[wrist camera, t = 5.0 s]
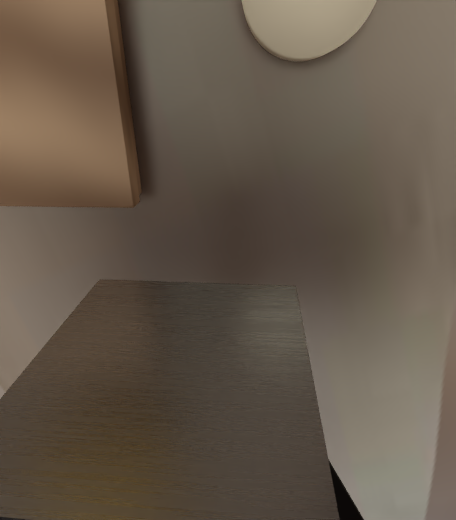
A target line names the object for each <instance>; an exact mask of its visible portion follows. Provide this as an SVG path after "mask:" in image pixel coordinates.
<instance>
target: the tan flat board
mask: <svg viewBox="0 0 456 520" xmlns="http://www.w3.org/2000/svg"><path fill="white" fill-rule="evenodd" d="M140 193H142V190H141V182H140V174H139V166H138V158H137V150H136V142H135V134H134V126H133V118H132V110H131V102H130V94H129V86H128V78H127V70H126V62H125V54H124V46H123V38H122V30H121V23H120V15H119V7H118V0H0V206H42V207H123V208H134V207H135V206H136V205H137V204H138V203H139V202H140V199H139V194H140Z"/></svg>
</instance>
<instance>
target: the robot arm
mask: <svg viewBox="0 0 456 520" xmlns="http://www.w3.org/2000/svg"><path fill="white" fill-rule="evenodd" d="M328 460H329V459H328ZM329 466H330V471H331V476H332V482H333V487H334V492H335V498H336V503H337V508H338V514H339V519H340V520H364V519H363V517H362V516H361V514H360V512H359V511H358V509H357V507H356V506H355V504H354V502H353V500H352V499H351V497H350V495H349V494H348V492H347V490H346V488H345V487H344V485H343V483H342V482H341V480H340V478H339V477H338V475H337V473H336V471H335V470H334V468H333V466H332V465H331V463H330V461H329Z"/></svg>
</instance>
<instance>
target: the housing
mask: <svg viewBox="0 0 456 520" xmlns="http://www.w3.org/2000/svg"><path fill="white" fill-rule="evenodd" d="M0 520H340V519H339V514H338V508H337V503H336V498H335V492H334V487H333V482H332V476H331V471H330V466H329V460H328V455H327V450H326V445H325V439H324V434H323V429H322V423H321V418H320V413H319V407H318V402H317V397H316V391H315V386H314V381H313V375H312V370H311V365H310V360H309V354H308V349H307V344H306V338H305V333H304V328H303V322H302V317H301V312H300V306H299V301H298V296H297V290H296V286H282V285H251V284H220V283H190V282H159V281H128V280H99V281H98V282H97V283H96V284H95V286H94V287H93V288H92V289H91V290H90V292H89V293H88V294H87V295H86V296H85V298H84V299H83V300H82V301H81V302H80V304H79V305H78V306H77V307H76V308H75V310H74V311H73V312H72V313H71V315H70V316H69V317H68V318H67V319H66V321H65V322H64V323H63V324H62V325H61V327H60V328H59V329H58V330H57V331H56V333H55V334H54V335H53V336H52V337H51V339H50V340H49V341H48V342H47V343H46V345H45V346H44V347H43V348H42V349H41V351H40V352H39V353H38V354H37V355H36V357H35V358H34V359H33V360H32V361H31V363H30V364H29V365H28V366H27V367H26V369H25V370H24V371H23V372H22V373H21V375H20V376H19V377H18V378H17V379H16V381H15V382H14V383H13V384H12V386H11V387H10V388H9V389H8V390H7V392H6V393H5V394H4V395H3V396H2V398H1V399H0Z"/></svg>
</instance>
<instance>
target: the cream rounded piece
mask: <svg viewBox="0 0 456 520" xmlns="http://www.w3.org/2000/svg"><path fill="white" fill-rule="evenodd" d="M241 1H242V6H243V11H244V15H245V18H246V22H247V24H248V26H249V29H250V31H251V33H252V34H253V36H254V38H255V39H256V40H257V42H258V43H259V44H260V45H261V46H262V47H263V48H264V49H265V50H266V51H268V52H269V53H270V54H272V55H274V56H276V57H278V58H281V59H283V60H287V61H295V62H301V61H309V60H313V59H316V58H318V57H321V56H323V55H325V54H327V53H329V52H331V51H332V50H334V49H336V48H338V47H340V46H341V45H342V44H344V43H345V42H346V41H348V40H349V39H350V38H351V37H352V36H353V35H354V34H355V33H356V32H357V31H358V30H359V29H360V28H361V26H362V25H363V24H364V22H365V21H366V19H367V18H368V17H369V15H370V13H371V11H372V9H373V8H374V6H375V3H376V1H377V0H241Z"/></svg>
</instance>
